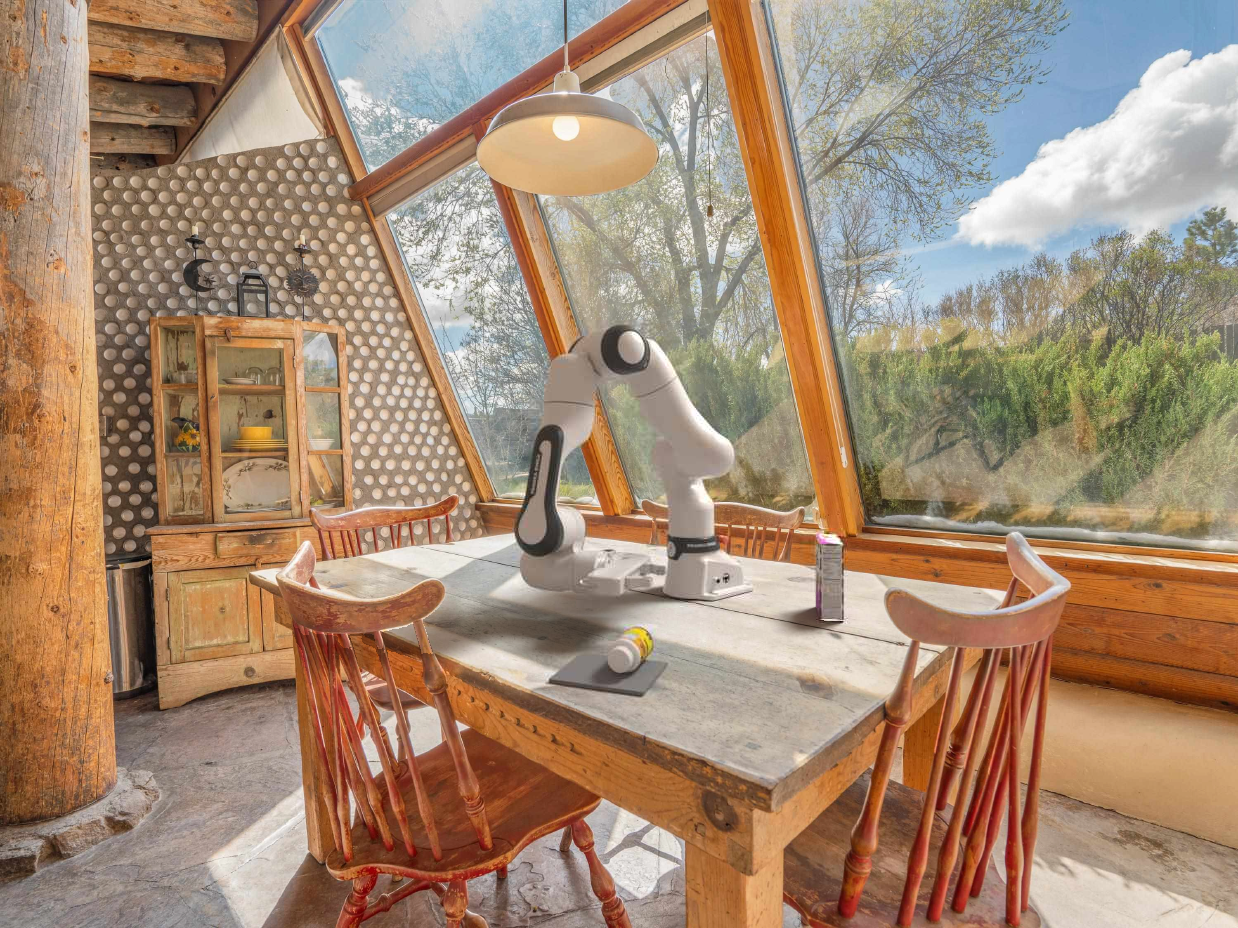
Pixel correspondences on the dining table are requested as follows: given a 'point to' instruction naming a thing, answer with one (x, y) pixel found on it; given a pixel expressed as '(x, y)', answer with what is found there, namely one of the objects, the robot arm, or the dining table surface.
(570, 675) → the mat
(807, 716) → the dining table surface
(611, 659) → the supplement bottle
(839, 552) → the candy bar box
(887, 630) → the dining table surface
